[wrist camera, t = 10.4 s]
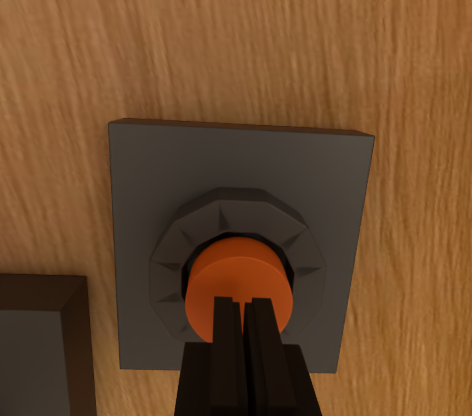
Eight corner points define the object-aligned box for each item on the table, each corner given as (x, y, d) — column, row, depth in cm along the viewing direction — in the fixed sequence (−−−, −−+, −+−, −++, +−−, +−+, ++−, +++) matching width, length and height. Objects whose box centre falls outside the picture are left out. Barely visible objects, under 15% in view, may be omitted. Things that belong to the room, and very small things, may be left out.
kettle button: (190, 234, 13) (185, 254, 12) (289, 238, 13) (298, 258, 12) (188, 320, 14) (184, 350, 13) (280, 322, 14) (287, 352, 13)
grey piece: (123, 117, 15) (90, 125, 12) (355, 130, 16) (397, 141, 12) (131, 339, 19) (107, 401, 15) (324, 343, 19) (349, 405, 15)
